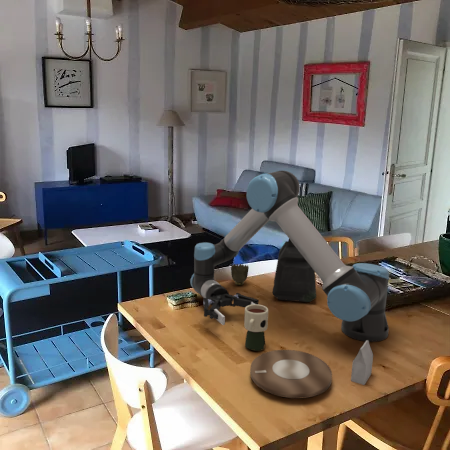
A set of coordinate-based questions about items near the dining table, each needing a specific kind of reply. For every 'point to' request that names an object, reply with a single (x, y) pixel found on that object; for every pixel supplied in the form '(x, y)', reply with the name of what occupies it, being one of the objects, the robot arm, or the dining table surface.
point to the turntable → (291, 373)
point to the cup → (239, 273)
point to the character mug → (255, 326)
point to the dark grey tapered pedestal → (293, 276)
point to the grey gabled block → (362, 365)
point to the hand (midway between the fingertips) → (242, 317)
